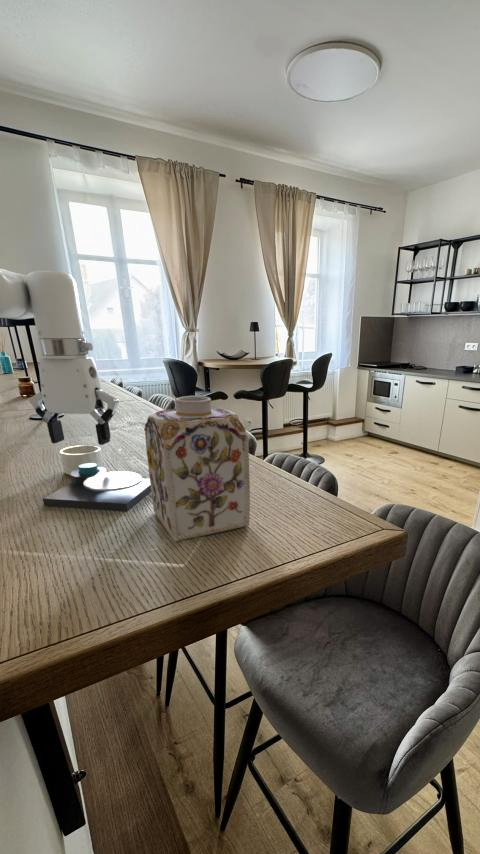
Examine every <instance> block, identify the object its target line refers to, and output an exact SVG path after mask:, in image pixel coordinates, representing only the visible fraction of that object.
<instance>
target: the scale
mask: <svg viewBox="0 0 480 854" xmlns="http://www.w3.org/2000/svg"><path fill="white" fill-rule="evenodd" d="M97 468H98V473H96V474H91V475H80V473H79V469H77V470H74V471H72V472H71V473H70V475H69V477H70V481H71V482H70V483H68V484H66V485H64V486H63V487H61V488H59V489H57V490H56V491H54V492H52V493H50V494H49V495H47V496H45V497H42V503H43V507H51V508H65V509H81V510H83V509H84V510H94V511H110V512H111V511H112V512H126V513H128V512H129V511H131V509H133V508H134V507H135V506H136V505H137V504H139V503H140V502H141V501H142V500H144V498H146V497H147V496H148V495H150V494H151V487H150V478H142V481H141V482H140V483H139V484H138V485H136V486H134V487H131V488H127V489H123V490H117V491H92V490H89V489H86V488H85V487H84V484H83V483H84V481H85V480H86V479H88V478H89V477H92V476H95V475H98V474H103V473H108V470H107V468H105V467H103V468H102V467H97Z"/></svg>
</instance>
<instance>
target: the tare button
mask: <svg viewBox="0 0 480 854" xmlns="http://www.w3.org/2000/svg"><path fill="white" fill-rule="evenodd" d="M78 467H79V473H80V475H91V474H96V473H98V468H97V464H95V463H86V464H81V465H79V466H78Z"/></svg>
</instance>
